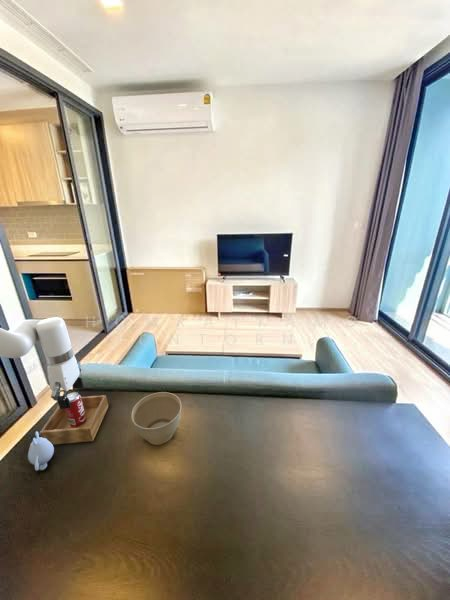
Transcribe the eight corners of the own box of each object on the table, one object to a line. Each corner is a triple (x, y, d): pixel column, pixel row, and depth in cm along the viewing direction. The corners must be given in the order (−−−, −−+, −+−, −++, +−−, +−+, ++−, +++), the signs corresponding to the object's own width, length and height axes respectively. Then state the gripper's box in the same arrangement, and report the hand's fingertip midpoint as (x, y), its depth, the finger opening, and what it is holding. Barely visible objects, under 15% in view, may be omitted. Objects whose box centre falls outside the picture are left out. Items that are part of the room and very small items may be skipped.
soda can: (82, 415, 94) (75, 389, 89) (89, 421, 91) (82, 395, 87) (67, 424, 90) (59, 397, 86) (74, 431, 87) (66, 404, 83)
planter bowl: (186, 414, 94) (184, 391, 91) (180, 453, 79) (177, 427, 75) (143, 415, 94) (139, 392, 90) (129, 455, 79) (124, 429, 75)
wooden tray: (44, 445, 83) (39, 432, 81) (67, 409, 97) (63, 398, 95) (92, 440, 84) (89, 428, 82) (108, 406, 98) (106, 395, 96)
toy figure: (38, 452, 80) (27, 424, 76) (60, 446, 82) (51, 418, 78) (27, 485, 71) (14, 454, 66) (53, 476, 73) (42, 447, 69)
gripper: (61, 342, 88) (73, 381, 94) (30, 373, 72) (47, 418, 78) (83, 340, 89) (93, 380, 95) (58, 370, 73) (72, 415, 79)
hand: (72, 397), depth 86 cm, fingers open, 9 cm apart
